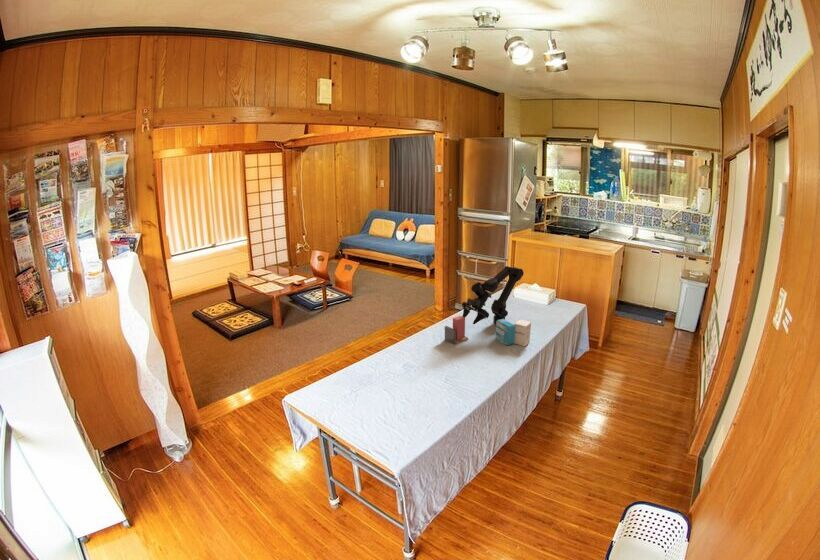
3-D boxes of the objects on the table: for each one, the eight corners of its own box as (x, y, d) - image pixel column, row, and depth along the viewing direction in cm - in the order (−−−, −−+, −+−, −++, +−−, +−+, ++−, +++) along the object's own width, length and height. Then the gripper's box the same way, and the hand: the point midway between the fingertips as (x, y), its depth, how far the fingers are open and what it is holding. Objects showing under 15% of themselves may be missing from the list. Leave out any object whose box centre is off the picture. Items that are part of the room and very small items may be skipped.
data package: (495, 338, 252) (496, 319, 248) (501, 336, 253) (502, 318, 250) (508, 346, 241) (509, 327, 238) (514, 344, 243) (515, 325, 239)
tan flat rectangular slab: (458, 335, 257) (458, 333, 256) (468, 339, 250) (468, 337, 250) (446, 339, 251) (446, 337, 251) (455, 344, 245) (455, 342, 245)
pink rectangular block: (460, 334, 254) (460, 315, 250) (464, 337, 251) (465, 317, 247) (452, 337, 251) (452, 318, 247) (457, 339, 248) (457, 320, 244)
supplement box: (512, 343, 245) (513, 323, 241) (518, 338, 250) (519, 319, 246) (524, 346, 240) (526, 326, 236) (530, 341, 246) (531, 321, 242)
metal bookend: (446, 339, 251) (446, 325, 248) (455, 344, 245) (455, 330, 242) (444, 340, 250) (444, 326, 247) (453, 345, 244) (453, 330, 241)
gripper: (463, 289, 257) (450, 310, 255) (486, 297, 243) (472, 320, 240) (472, 298, 264) (459, 319, 261) (495, 306, 250) (481, 329, 247)
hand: (467, 321), depth 252 cm, fingers open, 9 cm apart
